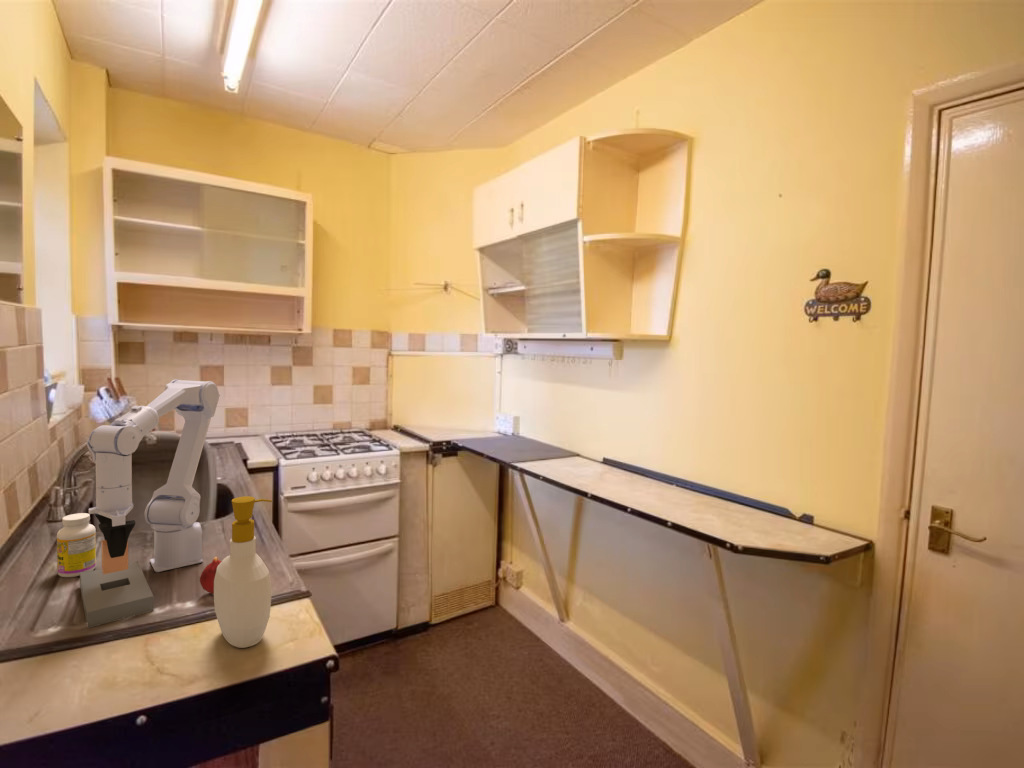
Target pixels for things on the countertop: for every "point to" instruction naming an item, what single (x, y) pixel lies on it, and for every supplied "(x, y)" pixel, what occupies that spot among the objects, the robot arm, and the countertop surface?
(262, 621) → the soap bottle
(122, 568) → the plug
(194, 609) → the countertop surface
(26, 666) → the countertop surface
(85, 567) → the supplement bottle
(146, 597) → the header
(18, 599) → the countertop surface
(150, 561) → the robot arm
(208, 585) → the onion
